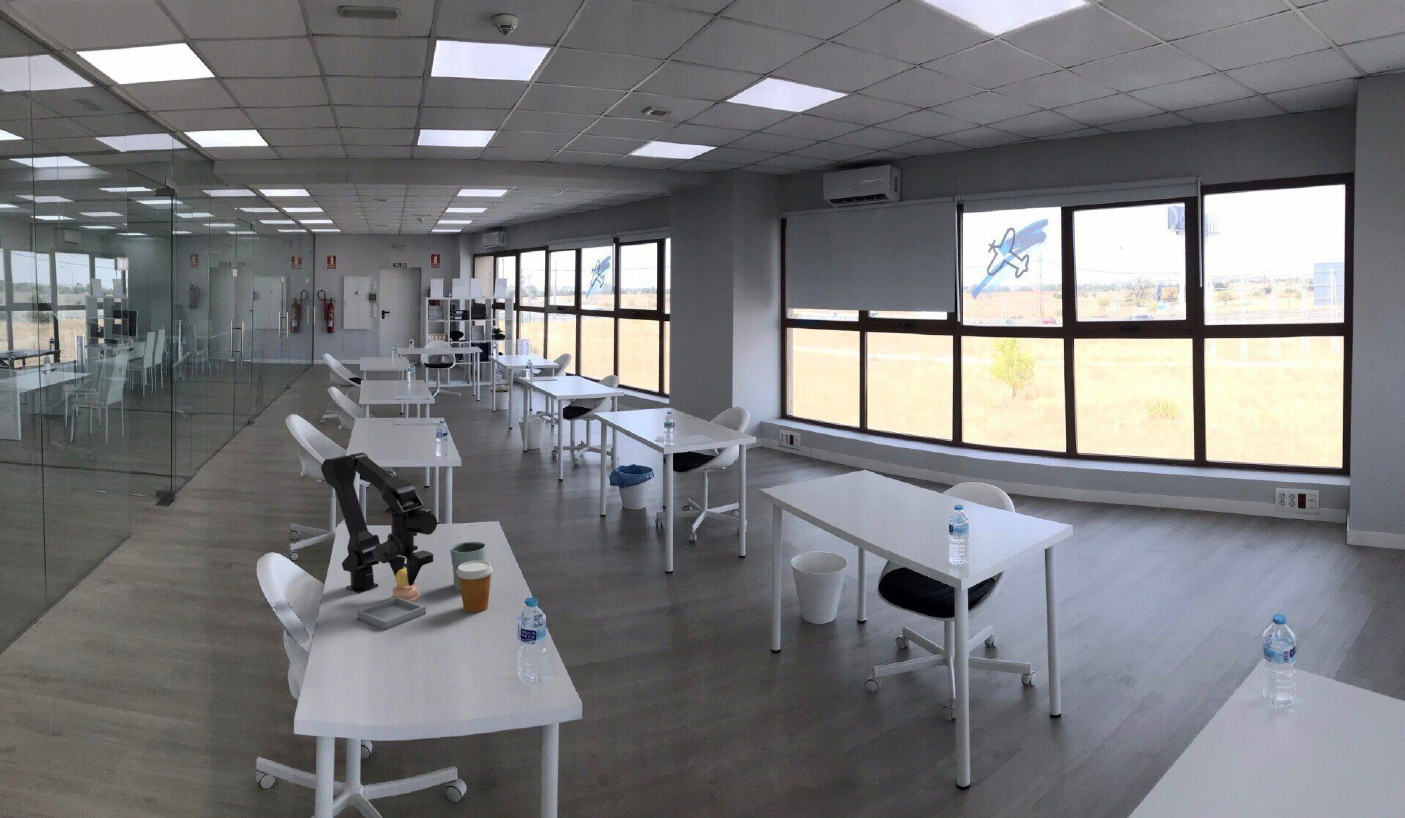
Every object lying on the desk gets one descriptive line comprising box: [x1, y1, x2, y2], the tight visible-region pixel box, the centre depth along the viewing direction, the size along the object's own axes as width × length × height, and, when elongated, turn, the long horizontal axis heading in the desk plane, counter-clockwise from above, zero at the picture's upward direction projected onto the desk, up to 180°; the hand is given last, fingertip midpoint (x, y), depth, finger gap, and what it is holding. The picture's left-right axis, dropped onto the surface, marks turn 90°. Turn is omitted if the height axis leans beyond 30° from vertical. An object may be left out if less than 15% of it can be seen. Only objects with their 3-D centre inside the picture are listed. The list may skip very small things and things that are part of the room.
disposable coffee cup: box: [456, 560, 494, 614], centre depth 202 cm, size 10×10×12 cm
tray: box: [356, 597, 427, 631], centre depth 197 cm, size 12×12×2 cm
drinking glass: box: [449, 541, 487, 592], centre depth 218 cm, size 10×10×12 cm
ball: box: [394, 567, 409, 587], centre depth 209 cm, size 5×5×5 cm
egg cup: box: [390, 582, 421, 602], centre depth 209 cm, size 8×8×4 cm
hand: (404, 583), depth 209 cm, fingers closed on ball, 5 cm apart
